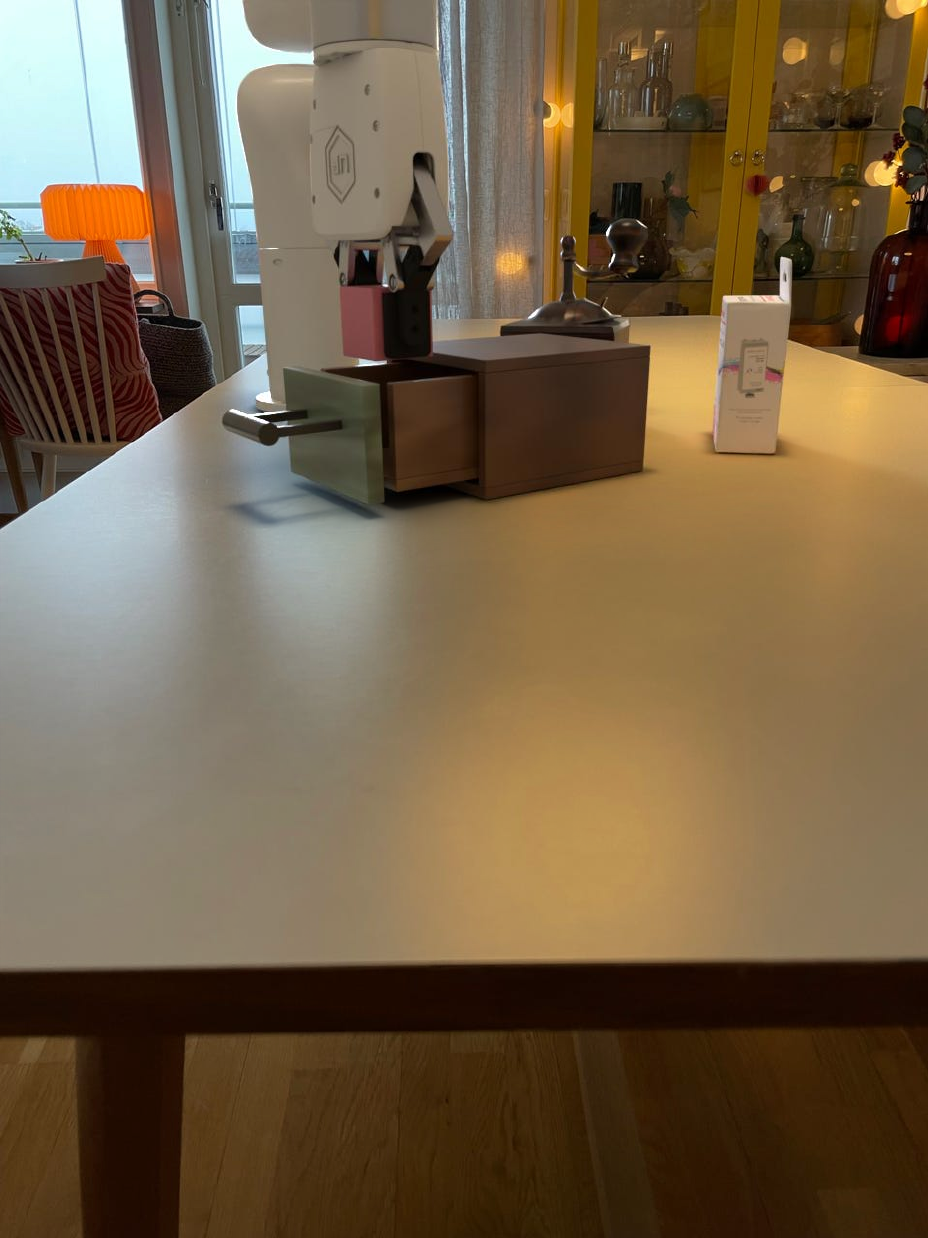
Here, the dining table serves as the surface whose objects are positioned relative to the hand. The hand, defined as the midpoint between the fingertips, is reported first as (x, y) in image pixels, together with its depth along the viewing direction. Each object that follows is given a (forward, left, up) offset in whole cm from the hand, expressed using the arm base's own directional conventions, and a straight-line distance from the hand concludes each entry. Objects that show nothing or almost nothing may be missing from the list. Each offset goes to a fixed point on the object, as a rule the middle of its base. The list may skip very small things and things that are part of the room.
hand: (387, 350), depth 62 cm
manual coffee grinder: (-13, +28, -10) cm, 32 cm away
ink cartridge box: (+4, +32, -10) cm, 33 cm away
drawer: (0, -1, -9) cm, 9 cm away
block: (0, 0, 0) cm, 0 cm away
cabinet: (0, +11, -9) cm, 14 cm away
